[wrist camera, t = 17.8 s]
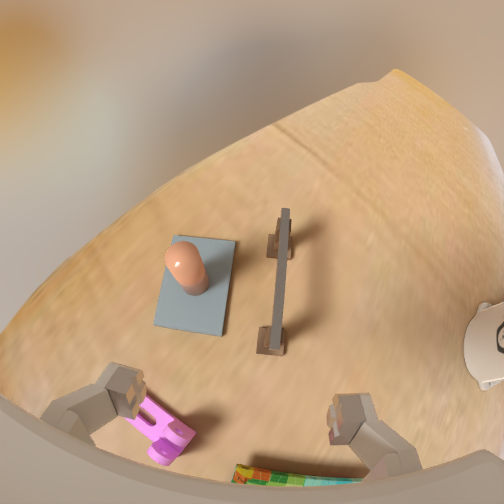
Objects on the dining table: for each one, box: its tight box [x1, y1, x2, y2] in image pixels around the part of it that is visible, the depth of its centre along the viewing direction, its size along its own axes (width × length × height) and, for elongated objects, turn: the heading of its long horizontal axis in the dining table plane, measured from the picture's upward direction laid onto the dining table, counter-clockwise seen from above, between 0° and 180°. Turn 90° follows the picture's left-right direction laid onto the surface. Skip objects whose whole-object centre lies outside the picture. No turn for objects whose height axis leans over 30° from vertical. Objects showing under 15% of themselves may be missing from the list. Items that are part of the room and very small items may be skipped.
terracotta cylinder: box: [165, 241, 209, 296], centre depth 40 cm, size 5×5×10 cm
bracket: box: [124, 394, 197, 466], centre depth 33 cm, size 13×6×7 cm, turn 56°
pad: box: [153, 235, 236, 336], centre depth 45 cm, size 11×16×1 cm
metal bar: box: [269, 208, 290, 351], centre depth 37 cm, size 1×20×1 cm, turn 174°
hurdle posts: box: [256, 218, 292, 356], centre depth 41 cm, size 4×20×8 cm, turn 174°
